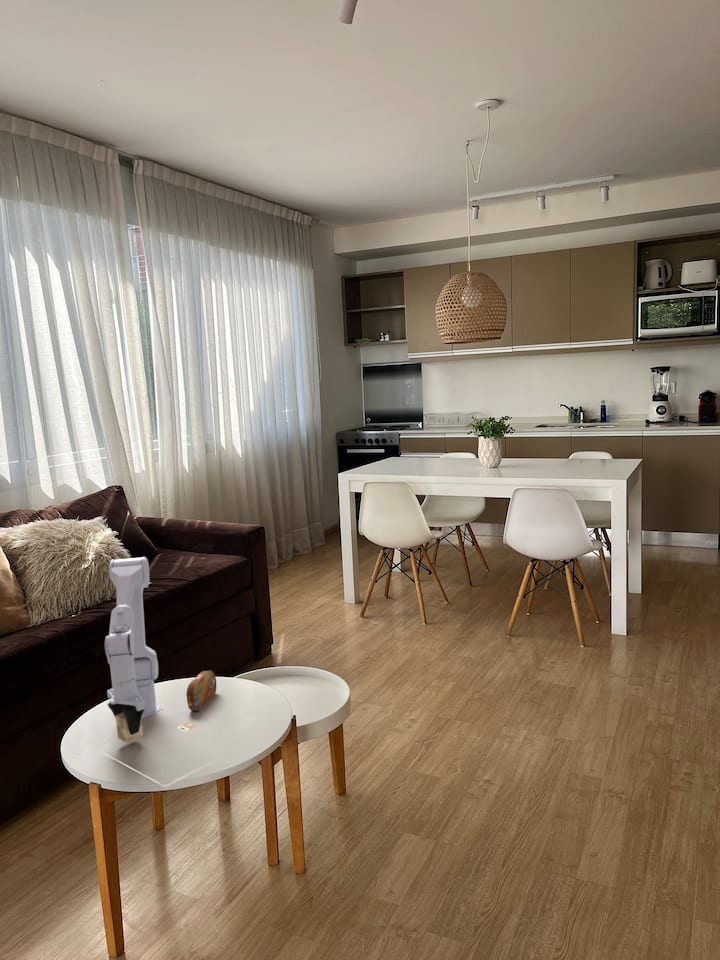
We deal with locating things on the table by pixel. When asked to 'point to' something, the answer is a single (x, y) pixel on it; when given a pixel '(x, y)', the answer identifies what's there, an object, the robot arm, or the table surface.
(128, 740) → the birch block
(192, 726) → the mat
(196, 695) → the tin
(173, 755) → the table surface
